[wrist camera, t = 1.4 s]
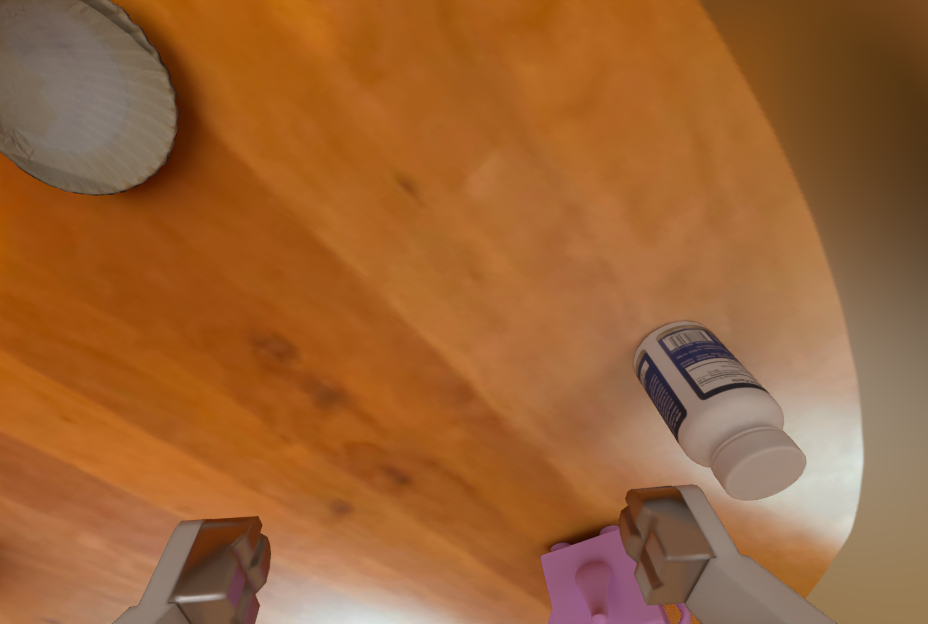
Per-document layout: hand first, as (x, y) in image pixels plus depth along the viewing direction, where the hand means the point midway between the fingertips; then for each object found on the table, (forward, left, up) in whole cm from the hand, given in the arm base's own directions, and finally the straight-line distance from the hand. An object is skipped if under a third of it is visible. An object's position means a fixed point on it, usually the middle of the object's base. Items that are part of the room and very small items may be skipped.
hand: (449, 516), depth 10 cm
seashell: (+1, -16, -17) cm, 23 cm away
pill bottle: (+1, +18, -17) cm, 25 cm away
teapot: (+23, +28, -17) cm, 40 cm away
